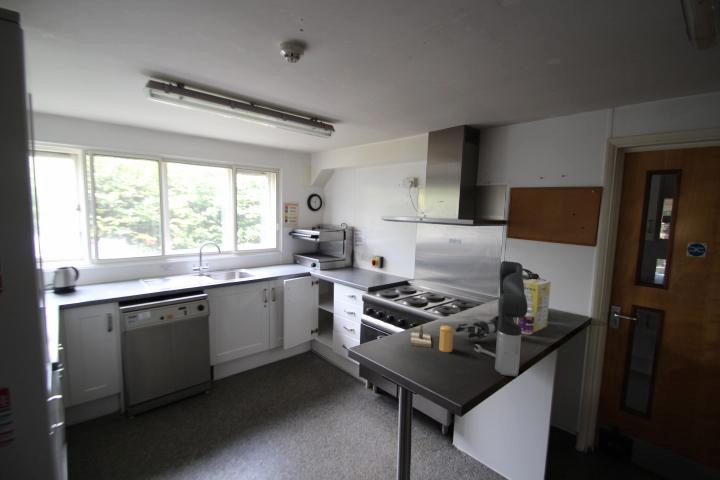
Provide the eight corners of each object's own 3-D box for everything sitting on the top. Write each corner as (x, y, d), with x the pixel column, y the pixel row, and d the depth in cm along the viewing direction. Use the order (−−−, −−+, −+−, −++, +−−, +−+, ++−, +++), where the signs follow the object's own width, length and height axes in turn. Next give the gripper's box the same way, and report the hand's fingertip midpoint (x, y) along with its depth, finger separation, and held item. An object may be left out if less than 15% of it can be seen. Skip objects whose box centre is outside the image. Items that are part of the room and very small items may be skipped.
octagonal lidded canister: (452, 352, 151) (453, 330, 150) (439, 351, 152) (440, 329, 152) (451, 347, 157) (452, 326, 156) (438, 346, 158) (440, 325, 157)
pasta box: (529, 321, 204) (532, 278, 202) (546, 326, 196) (550, 281, 194) (516, 326, 192) (519, 281, 190) (534, 332, 184) (538, 285, 182)
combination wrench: (515, 359, 140) (475, 342, 156) (513, 360, 139) (474, 343, 155) (514, 367, 140) (474, 350, 156) (513, 368, 139) (473, 350, 155)
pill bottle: (525, 335, 177) (527, 310, 176) (514, 330, 185) (515, 306, 184) (536, 334, 180) (538, 309, 179) (524, 329, 188) (525, 305, 187)
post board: (430, 347, 157) (431, 330, 156) (410, 345, 159) (411, 328, 158) (429, 336, 171) (430, 321, 170) (411, 335, 172) (411, 320, 172)
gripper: (473, 317, 174) (452, 321, 166) (495, 325, 162) (474, 330, 153) (472, 330, 174) (451, 335, 166) (494, 339, 162) (473, 345, 154)
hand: (462, 332), depth 160 cm, fingers open, 8 cm apart
